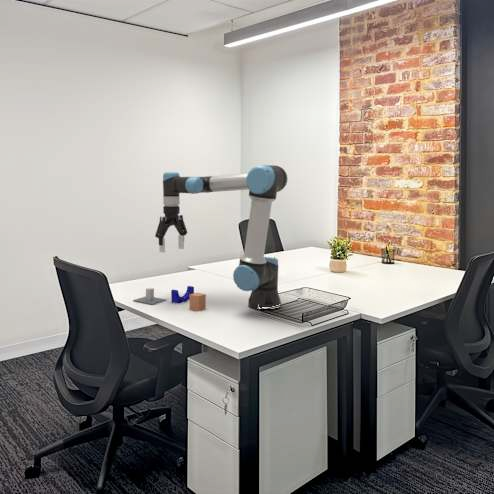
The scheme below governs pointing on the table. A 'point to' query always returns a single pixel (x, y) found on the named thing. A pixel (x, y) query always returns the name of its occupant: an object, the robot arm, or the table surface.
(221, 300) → the table surface
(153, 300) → the stand
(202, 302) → the peach clay cube
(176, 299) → the blue arch bracket
